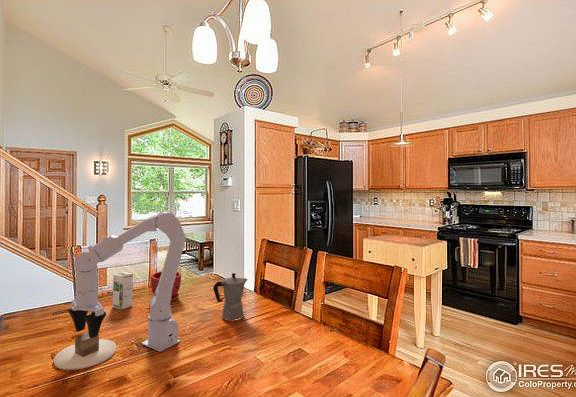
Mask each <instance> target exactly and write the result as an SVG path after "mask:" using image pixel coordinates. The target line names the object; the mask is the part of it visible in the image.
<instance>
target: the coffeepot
mask: <svg viewBox="0 0 576 397" xmlns="http://www.w3.org/2000/svg"><path fill="white" fill-rule="evenodd" d="M236 275H237V274H236V273H234V272H233V273H231V277H227V278H224V279H222V280H221V281H217V282H215V283H214V285H213V287H212V288H213V292H214V294H215V298H216V302H217V303H222V302H223V306H222V310H221V311H222V312H221V319H222V320H223V319H227V320H235V319H239V318H241V317H242V316H244V315H245V314H244V309H243V302H242V297H243V296H244V289H245V284H246V283H247V281H248V280H249V279H248V278H244V277H236ZM219 287H222V288H223V297H224V301H223V299H222V298H221V299H220V297H221V296H220V293H219V292H220V291H219V289H218V288H219ZM244 317H245V316H244Z"/></svg>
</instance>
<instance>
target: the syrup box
mask: <svg viewBox="0 0 576 397" xmlns="http://www.w3.org/2000/svg"><path fill="white" fill-rule="evenodd" d="M112 276H113V281H112V282H113V283H112V284H113V285H112V308H114V309H116V310H119V311H122V310H124V309H127V308H129V307H132V306H133V292H134V291H133V288H134V287H133V285H134V282H133V281H134V279H133V278H134V273H131V272H126V271H122V272H121V271H120V272H116V273H114V274H113V275H112Z"/></svg>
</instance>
